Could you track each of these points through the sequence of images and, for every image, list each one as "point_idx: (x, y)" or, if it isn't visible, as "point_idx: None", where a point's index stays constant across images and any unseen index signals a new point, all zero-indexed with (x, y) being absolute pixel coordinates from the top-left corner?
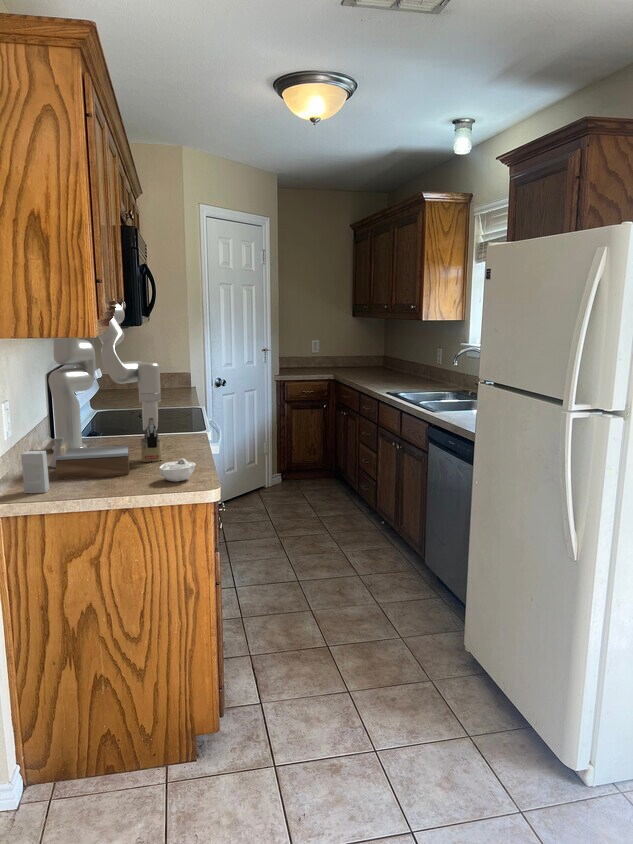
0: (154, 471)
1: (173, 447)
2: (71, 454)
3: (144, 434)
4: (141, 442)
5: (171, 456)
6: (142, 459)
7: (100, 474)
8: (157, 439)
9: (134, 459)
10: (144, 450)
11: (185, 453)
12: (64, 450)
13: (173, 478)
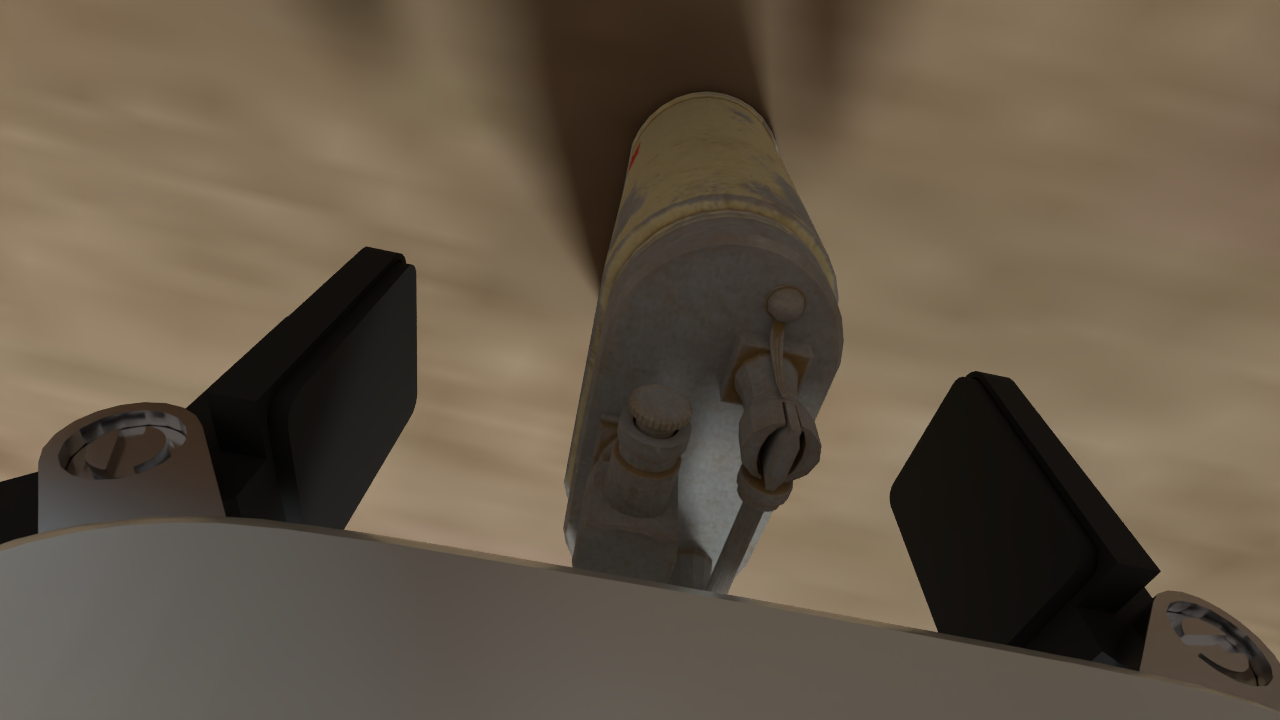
0: (16, 119)
1: (1235, 598)
2: None
3: (792, 427)
4: (715, 207)
5: (800, 480)
6: (685, 106)
7: None
8: (568, 542)
9: (956, 5)
10: (628, 188)
11: (850, 601)
12: None
13: None
